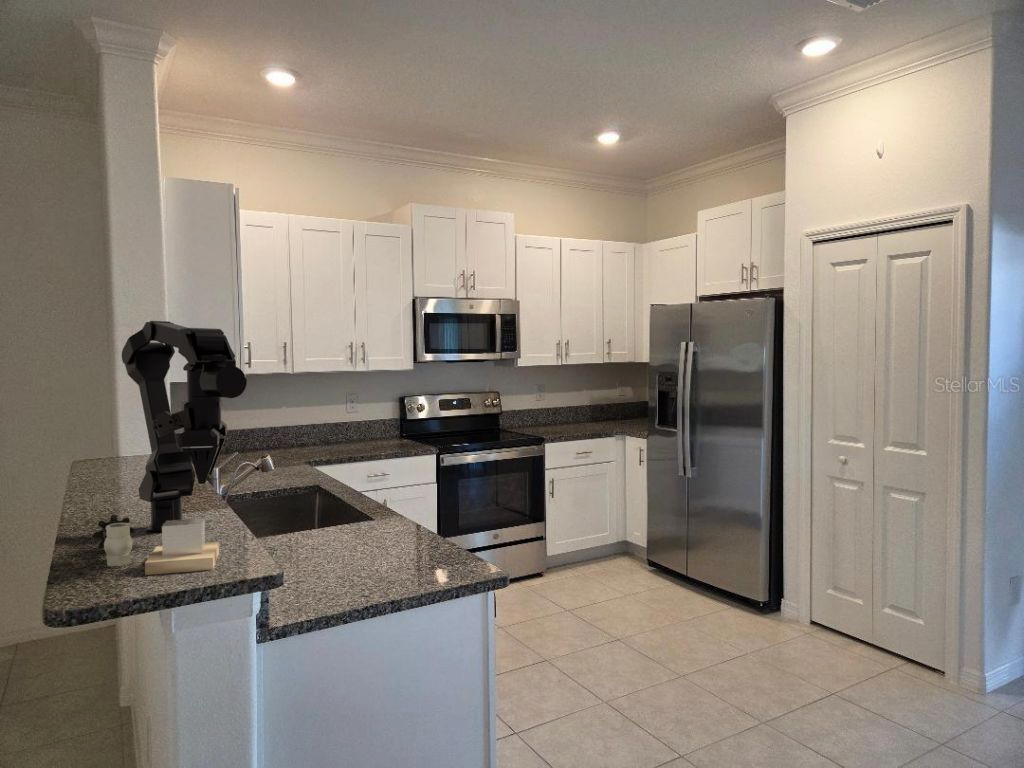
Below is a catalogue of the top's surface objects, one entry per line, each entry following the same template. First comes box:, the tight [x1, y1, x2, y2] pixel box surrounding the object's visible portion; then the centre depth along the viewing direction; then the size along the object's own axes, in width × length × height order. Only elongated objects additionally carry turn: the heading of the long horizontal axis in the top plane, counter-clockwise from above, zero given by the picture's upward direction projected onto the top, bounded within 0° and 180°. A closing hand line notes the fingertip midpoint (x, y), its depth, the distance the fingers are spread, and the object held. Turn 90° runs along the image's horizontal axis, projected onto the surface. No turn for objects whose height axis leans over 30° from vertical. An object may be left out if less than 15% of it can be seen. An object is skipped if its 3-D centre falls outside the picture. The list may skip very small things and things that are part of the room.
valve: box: [92, 513, 136, 567], centre depth 120 cm, size 7×7×12 cm
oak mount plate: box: [144, 541, 220, 576], centre depth 117 cm, size 10×10×2 cm
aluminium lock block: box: [161, 517, 206, 556], centre depth 117 cm, size 4×6×5 cm, turn 107°
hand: (205, 479), depth 129 cm, fingers open, 9 cm apart
